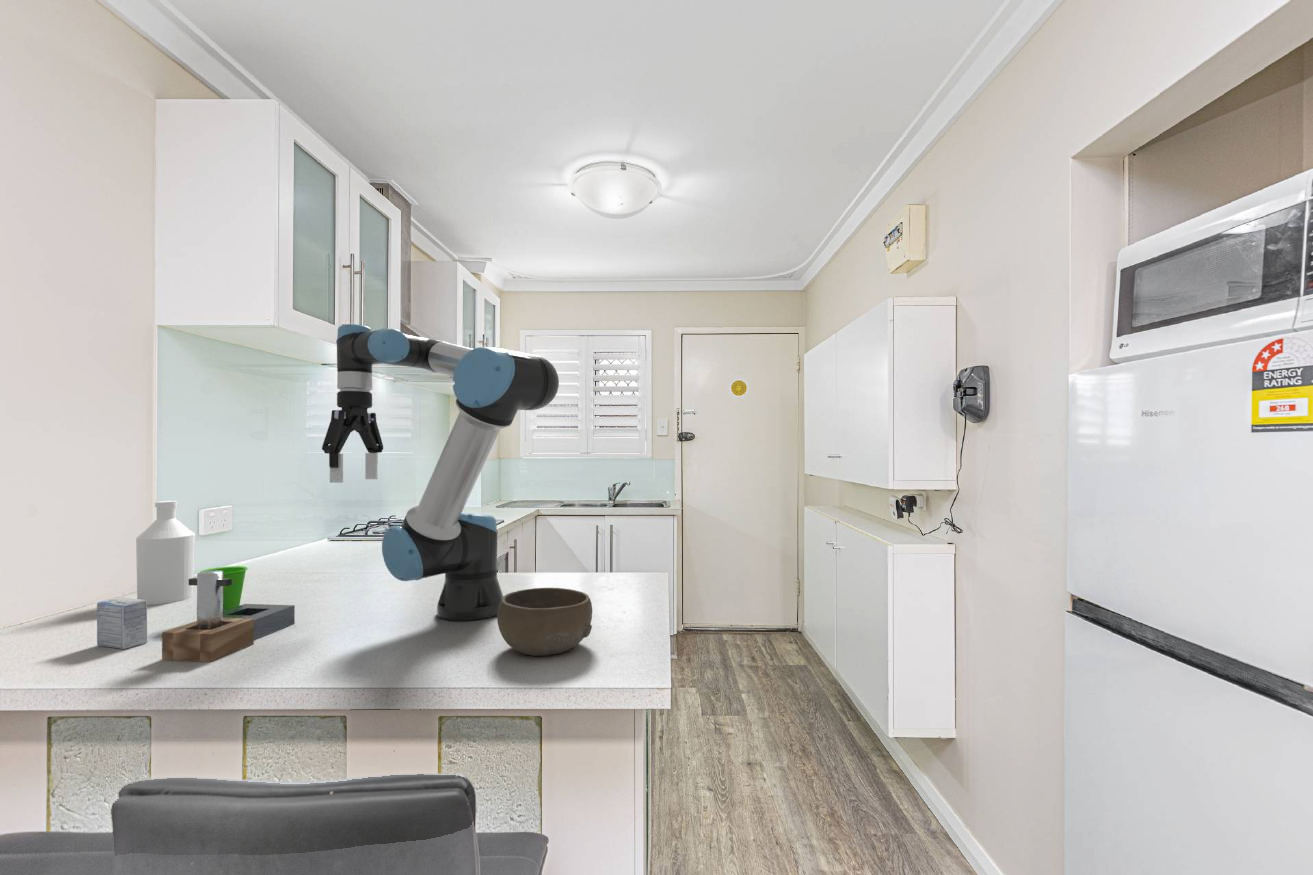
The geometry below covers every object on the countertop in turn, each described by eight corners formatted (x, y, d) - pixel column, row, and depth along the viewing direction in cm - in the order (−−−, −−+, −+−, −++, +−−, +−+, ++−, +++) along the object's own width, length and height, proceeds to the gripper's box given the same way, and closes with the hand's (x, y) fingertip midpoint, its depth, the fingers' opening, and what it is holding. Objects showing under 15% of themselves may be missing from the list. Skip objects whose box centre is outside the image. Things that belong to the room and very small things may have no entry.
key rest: (253, 644, 122) (253, 618, 122) (211, 661, 112) (211, 633, 112) (208, 642, 123) (208, 617, 123) (162, 659, 113) (162, 632, 114)
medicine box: (148, 643, 123) (148, 599, 123) (122, 650, 119) (122, 604, 119) (121, 639, 126) (122, 596, 126) (95, 646, 122) (96, 601, 122)
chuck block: (294, 623, 136) (294, 605, 136) (252, 640, 124) (252, 620, 124) (244, 621, 138) (244, 603, 138) (198, 638, 126) (198, 618, 126)
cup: (257, 613, 145) (257, 566, 145) (226, 624, 136) (226, 574, 136) (221, 612, 146) (221, 565, 146) (188, 623, 137) (188, 573, 137)
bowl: (610, 647, 119) (609, 595, 119) (531, 671, 106) (531, 613, 107) (556, 629, 131) (556, 581, 131) (480, 649, 119) (480, 596, 119)
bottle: (204, 595, 162) (205, 500, 163) (152, 606, 151) (153, 504, 152) (177, 591, 167) (178, 498, 167) (125, 601, 156) (126, 502, 157)
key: (199, 647, 120) (200, 569, 121) (237, 648, 119) (237, 570, 120) (181, 654, 116) (182, 574, 117) (220, 655, 115) (220, 575, 116)
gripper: (370, 395, 160) (370, 477, 160) (303, 386, 135) (303, 484, 135) (398, 395, 159) (398, 478, 159) (335, 386, 134) (335, 484, 134)
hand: (354, 480), depth 147 cm, fingers open, 13 cm apart
